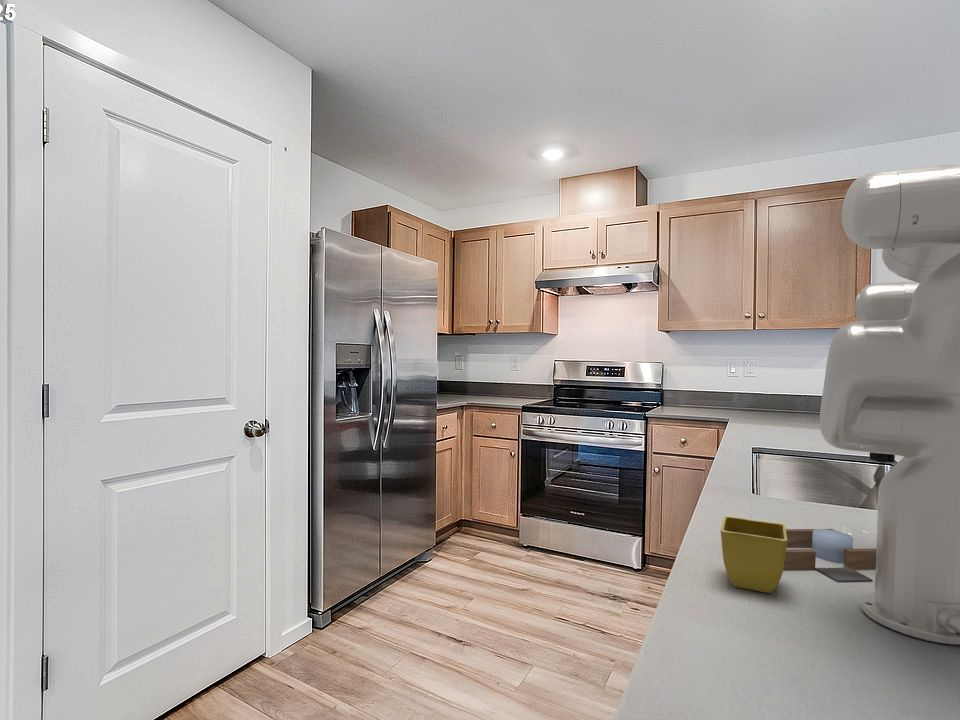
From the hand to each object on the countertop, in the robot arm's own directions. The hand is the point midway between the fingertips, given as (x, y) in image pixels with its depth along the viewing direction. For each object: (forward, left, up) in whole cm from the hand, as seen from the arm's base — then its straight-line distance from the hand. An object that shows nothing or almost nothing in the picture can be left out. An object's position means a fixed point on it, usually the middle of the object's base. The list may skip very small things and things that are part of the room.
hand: (881, 460), depth 96 cm
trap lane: (0, +14, -17) cm, 22 cm away
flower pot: (-11, +31, -17) cm, 37 cm away
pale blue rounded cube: (0, +9, -17) cm, 19 cm away
